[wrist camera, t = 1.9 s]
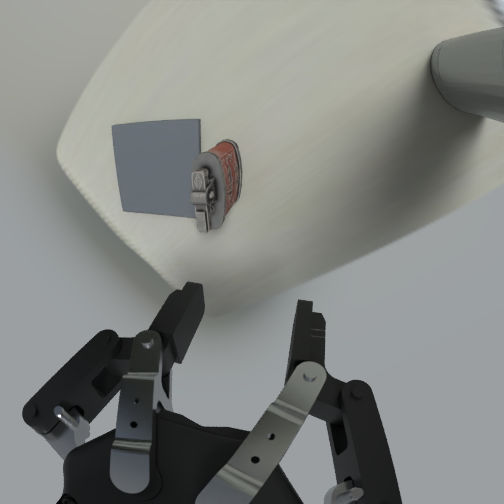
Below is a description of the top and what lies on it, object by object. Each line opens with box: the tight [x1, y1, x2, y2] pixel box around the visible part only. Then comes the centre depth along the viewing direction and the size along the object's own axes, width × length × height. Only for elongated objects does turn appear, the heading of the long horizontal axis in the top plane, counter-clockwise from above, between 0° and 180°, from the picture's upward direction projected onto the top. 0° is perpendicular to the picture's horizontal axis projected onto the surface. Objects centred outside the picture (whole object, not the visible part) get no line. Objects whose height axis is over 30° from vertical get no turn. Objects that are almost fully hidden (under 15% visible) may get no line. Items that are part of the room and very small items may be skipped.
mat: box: [112, 119, 201, 218], centre depth 34 cm, size 13×13×1 cm
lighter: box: [190, 139, 242, 234], centre depth 28 cm, size 8×3×10 cm, turn 1°
